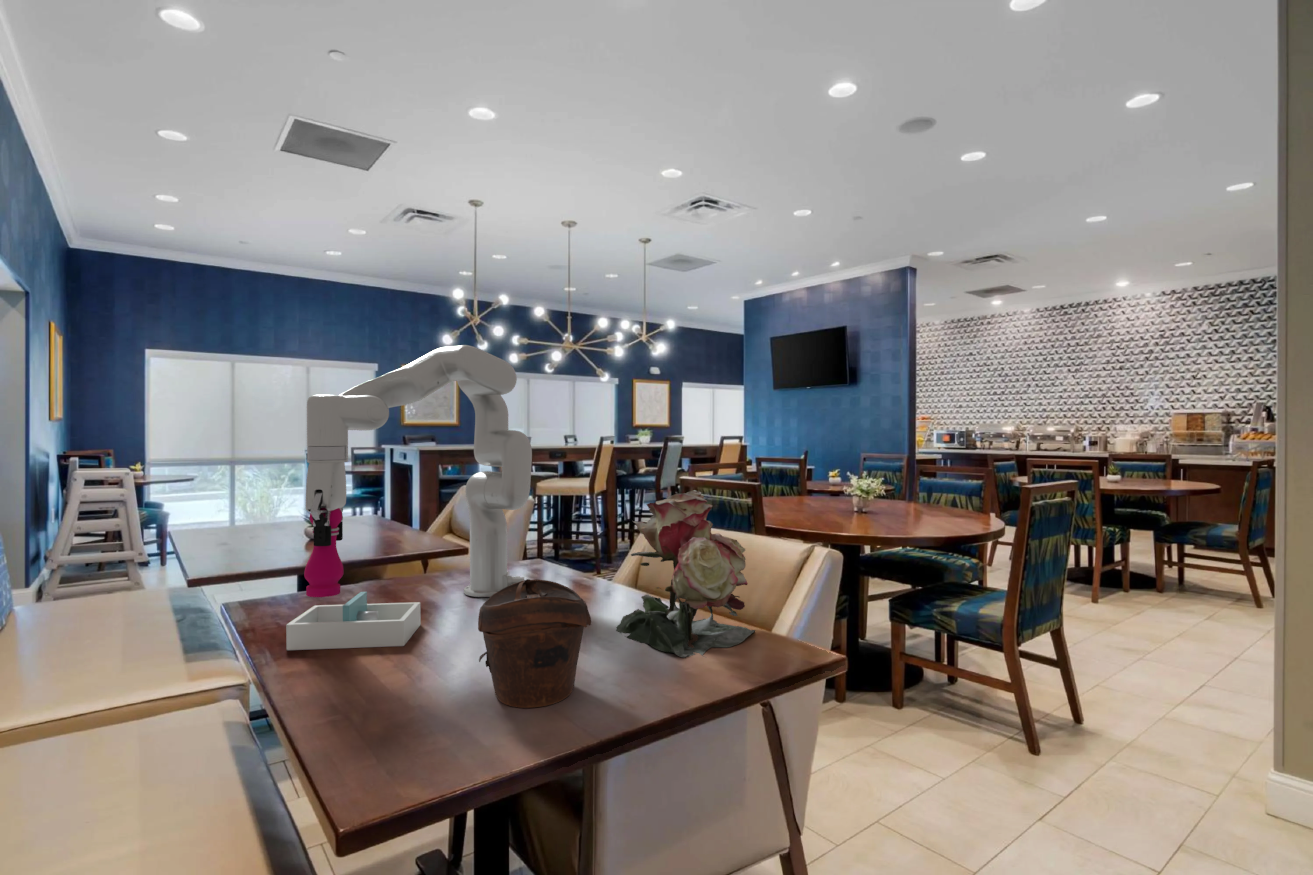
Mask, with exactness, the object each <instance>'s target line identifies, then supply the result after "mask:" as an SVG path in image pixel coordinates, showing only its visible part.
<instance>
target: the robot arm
mask: <svg viewBox="0 0 1313 875" xmlns="http://www.w3.org/2000/svg"><path fill="white" fill-rule="evenodd" d="M514 368H515V367H514V366H512V365H511V364H510V363H509V362H508V361H506V360H504V359H502V358H500V357H498V356H495V355H493V354H491V353H489V352H487V351H485V350H483V349H480V348H478V347H475V346H473V345H468V344H461V345H449V346H446V345H445V346H442V347H438V348H436V349H433V350H432V351H431V350H430V351H429V352H428V353H426V354H424V355H422V356H421V357H418V358H417V359H415V360H413V361H411V362H410V363H408V364H406V365H403V366H402V367H399V368H397V369H394V370H392V371H389V372H387V373H384V374H383V375H380V376H377V377H375V378H372V379H370V380H367V381H365V382H362V383H359V384H358V385H355V386H353V387H351V388H349V389H348V390H346V391H344V392H342V393H340V394H339V395H338V394H337V395H336V394H313V395H310V396H309V397H308V398H307V400H306V401H307V402H306V439H307V440H306V448H307V449H306V450H307V453H306V457H307V458H306V460H307V461H306V462H307V463H308V466H307V467H308V468H307V474H306V485H305V486H306V487H305V511H307V512H308V513H311V514H312V516H313V517H312V519H313V524H312V527H313V528H314V535H313V547H314V546H330V545H331V526H329V523H330V514H331V511H334V510H335V509H338V508H340V510H341V512H342V520H341V522H340V523H339V524H338V526H337V527H338V528H339V530H338V532H339V534H338V535H337V538H336V542H338V541H342V540H343V539H344V538H343V537H344V536H343V533H344V532H343V528H344V527H343V520H344V514H343V512H344V507H345V506H346V504H347V476H346V475H347V474H346V473H347V472H346V464H345V463H348V462H349V431H373V430H378V429H379V428H382V427H383V426H384V425H385V424H386V423H387V422H388V419H389V417H390V410H389V409H390V408H395V407H400V406H407V405H411V404H413V403H417V402H420V401H422V400H423V399H425V398H427V397H429V396H430V395H432V394H433V393H434V392H437V391H438V390H439V389H442V388H443V387H445V386H446V385H449V384H450V383H452V382H457V385H458V387H459V389H460V390H461V391H462V392H463V394H465V396H466V397H467V398H468V400H469V401H470V402H471V404H472V406H473V409H474V413H475V418H474V419H475V420H474V421H475V422H474V424H475V425H474V437H473V438H474V439H473V440H474V441H473V455H474V459H475V461H476V462H477V463H478V464H480V465H482V466H487V467H496V468H497V467H501V471H489V470H486V471H479V472H476V473H474V474H473V475H471V476H470V477H469V479H468V480H467V482H466V485H465V491H464V492H465V499H466V503H467V508H468V509H467V510H468V516H469V518H468V519H469V584H468V585H467V586H465V587H464V588H463V593H464V595H466V596H468V597H472V598H473V597H475V598H490V597H491V596H492V595H493V594H495V593H497V592H498V591H500V590H501V589H503V588H505V587H507V586H510V585H512V584H515V583H518V582H521V581H524V580H525V577H523V576H521V575H520V576H519V575H517V576H516V575H515V576H513V575H510V571H508V523H507V521H508V520H507V517H506V515H505V512H504V510H507V511H515V510H519V509H521V508H523V507H524V506H525V505H526V504H527V502H528V500H529V496H530V492H531V479H532V478H531V477H532V462H533V461H532V459H533V449H532V444H531V441H530V439H529V438H528V436H527V435H526V434H525V433H523V432H522V431H519V430H509V409H508V408H509V407H508V406H507V403H506V401H505V400H504V398H503V396H502V395H507V394H509V393H510V392H512V391H513V390H514V388H515V387H516V384H517V380H518V378H517V377H518V376H517V373H516V370H515V369H514ZM320 508H326V509H327V510H320ZM323 514H326V515H325V517H324V515H323Z"/></svg>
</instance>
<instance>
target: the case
mask: <svg viewBox="0 0 1313 875" xmlns="http://www.w3.org/2000/svg"><path fill="white" fill-rule="evenodd" d="M478 611H479V612H478V619H477V620H478V621H477V622H478V623H477V629H478V631H479V632H480V633H482V635H483V640H484V645H485V650H486V651H485V652H484V653H482V654H481V655H480V656H479V658H478V662H479V663H480V662H481V660H482V659H483V658H484V657H485V656H486V660H485V666H486V668H488V669H489V673H490V675H491V681H492V684H493V690H494V695H495V697H496V698H497V700H498V701H500V703H502V704H503V705H506V706H508V707H514V708H519V709H520V708H523V709H533V708H541V707H546V706H551V705H553V704H556V703H559V702H562V701H563V700H565V699H566V698H567V697H569V696H570V695H571V694H572V692H573V689H574V688H575V682H576V681H575V680H576V674H577V666H578V662H579V655H580V651H581V650H580V649H581V645H582V638H583V633H584V628H587V627H588V626H591V625H592V617H591V615H590V612H589V607H588V604H587V603H586V601H585V600H584V599H583V598H582V597H581V596H580V595H579V594H578V593H577V591H574V590H573V589H572V588H570V587H568V586H565V585H563V584H561V583H558V582H556V581H552V580H547V579H539V578H536V579H529V578H528V579H527V578H526V579H524V581H521V582H518V583H515V584H512V585H510V586H507V587H505V588H503V589H501V590H500V591H498V592H497V593H495V594H493V595H492V596H491V597H488V599H487V600H485V601H484V603H482V605H481V606H480V609H479V610H478Z"/></svg>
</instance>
